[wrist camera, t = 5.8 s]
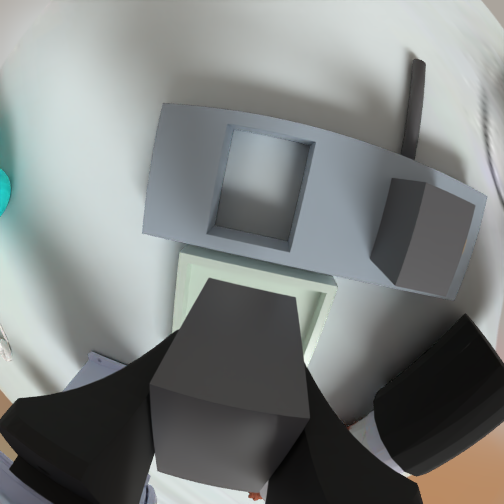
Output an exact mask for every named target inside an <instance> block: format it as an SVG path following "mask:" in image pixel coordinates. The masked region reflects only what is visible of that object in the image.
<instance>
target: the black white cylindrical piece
mask: <svg viewBox="0 0 504 504" xmlns="http://www.w3.org/2000/svg"><path fill="white" fill-rule="evenodd" d="M373 402H374V410H373V411H372V412H370V413H369V414H368V416H367V417H365V418H363V419H362V420H360V421H359V422H355V423H354V424H352V425H351V426H348V427H346V428H347V429H348V430H349V431H350V432H351V433H352V435H353V436H354V437H355V438H356V439H357V440H358V441H359V442H360V443H361V444H362V445H363V446H365V447H366V448H367V449H368V450H369V451H370V452H371V453H372V454H373V455H375V456H376V457H377V458H378V459H380V460H381V461H382V462H383V463H385V464H386V465H388V466H389V467H390V468H392V469H393V470H395V471H396V472H398V473H402V472H407V473H409V474H412V475H414V476H420V475H423V474H426V473H428V472H430V471H432V470H434V469H436V468H437V467H439V466H441V465H443V464H444V463H446V462H448V461H449V460H451V459H453V458H454V457H456V456H457V455H459V454H460V453H462V452H463V451H465V450H466V449H468V448H469V447H471V446H472V445H474V444H475V443H476V442H478V441H479V440H481V439H482V438H483V437H485V436H486V435H487V434H489V433H490V432H491V431H492V430H494V429H495V428H496V427H497V426H499V425H500V424H501V423H502V422H503V421H504V363H503V362H502V360H501V359H500V357H499V356H498V354H497V353H496V351H495V350H494V348H493V347H492V346H491V344H490V343H489V342H488V340H487V339H486V337H485V336H484V335H483V334H482V332H481V331H480V330H479V328H478V327H477V326H476V325H475V323H474V322H473V321H472V320H471V319H470V318H469V316H468V315H467V314H466V313H465V314H464V315H463V316H462V317H461V318H460V319H459V320H458V322H457V323H456V324H455V325H454V326H453V327H452V328H451V329H450V330H449V331H448V332H447V333H446V334H445V335H444V336H443V337H442V338H441V339H440V340H439V341H438V342H437V343H436V344H434V345H433V346H432V347H431V348H430V349H429V350H428V351H427V352H426V353H425V354H424V355H422V356H421V357H420V358H419V359H418V360H417V361H416V362H414V363H413V364H412V365H411V366H410V367H409V368H407V369H406V370H405V371H404V372H403V373H401V374H400V375H399V376H398V377H396V378H395V379H394V380H392V381H391V382H390V383H389V384H387V385H386V386H385V387H383V388H382V389H381V390H380V391H379V392H378V393H376V396H375V399H374V401H373ZM267 488H268V481H267V482H266V484H265V485H264V486H263V487H262V489H261V490H260V491H259V493H253V492H248V493H249V496H248V497H249V498H253V500H254V501H256V500H258V499H263V500H264V501H265V502H266V495H267Z"/></svg>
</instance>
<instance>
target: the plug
mask: <svg viewBox="0 0 504 504" xmlns="http://www.w3.org/2000/svg"><path fill="white" fill-rule="evenodd" d="M150 404H151V418H152V429H153V439H154V448H155V457H156V464H157V471H159V472H162V473H165V474H168V475H172V476H175V477H179V478H182V479H186V480H190V481H194V482H198V483H202V484H206V485H211V486H216V487H221V488H227V489H232V490H239V491H246V492H253V493H259V491H260V490H261V489H262V487H263V486H264V485H265V484H266V482H267V481H268V480H269V478H270V477H271V476H272V474H273V473H274V472H275V470H276V469H277V468H278V466H279V465H280V463H281V462H282V461H283V459H284V458H285V456H286V455H287V453H288V452H289V451H290V449H291V448H292V446H293V445H294V443H295V442H296V440H297V439H298V437H299V435H300V434H301V432H302V431H303V429H304V428H305V426H306V424H307V423H308V421H309V419H310V412H309V402H308V392H307V383H306V374H305V365H304V356H303V348H302V340H301V332H300V324H299V317H298V310H297V302H296V297H292V296H288V295H283V294H278V293H274V292H269V291H265V290H260V289H256V288H251V287H247V286H243V285H238V284H234V283H230V282H225V281H221V280H217V279H213V278H208V280H207V282H206V283H205V285H204V287H203V289H202V290H201V292H200V294H199V296H198V297H197V299H196V301H195V303H194V304H193V306H192V308H191V310H190V311H189V313H188V315H187V317H186V318H185V320H184V322H183V324H182V326H181V327H180V329H179V331H178V333H177V334H176V336H175V338H174V340H173V342H172V343H171V345H170V347H169V349H168V351H167V352H166V354H165V356H164V358H163V360H162V362H161V363H160V365H159V367H158V369H157V371H156V373H155V374H154V376H153V378H152V380H151V382H150Z"/></svg>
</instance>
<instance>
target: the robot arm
mask: <svg viewBox="0 0 504 504" xmlns="http://www.w3.org/2000/svg"><path fill="white" fill-rule="evenodd" d="M178 331H179V330H176V331H174V332H173V333H172V334H171V335H170V336H168V337H167V338H166V339H165V340H163V341H162V342H161V343H159V344H158V345H157V346H156V347H154V348H153V349H151V350H150V351H149V352H147V353H146V354H144V355H143V356H141V357H140V358H138V359H137V360H135V361H134V362H132V363H130V364H129V365H124V364H121V363H119V362H116V361H114V360H111V359H109V358H106V357H104V356H101V355H99V354H97V353H94V352H89V354H88V358H89V360H88V361H87V363H86V364H85V365H84V366H83V367H82V369H81V370H80V371H79V372H78V373H77V375H76V376H75V377H74V378H73V379H72V381H71V382H70V383H69V384H68V386H67V387H66V388H65V389H64V390H63V392H60V393H55V394H51V395H45V396H37V397H28V398H18V399H17V400H16V401H15V402H14V403H13V404H12V406H11V407H10V408H9V409H8V410H7V412H6V413H5V414H4V415H3V416H2V418H1V419H0V433H1V434H2V436H3V437H4V438H5V440H6V441H7V442H8V443H9V445H10V446H11V447H12V448H13V450H14V451H15V452H16V453H17V454H18V456H17V458H16V459H15V461H14V462H13V461H11V459H9V458H8V457H7V456H6V455H5V454H4V453H2V452H1V451H0V504H157V497H156V494H155V491H154V488H153V487H152V486H151V485H149V484H148V482H149V479H150V475H149V474H148V472H149V469H150V465H151V462H152V459H153V456H154V453H155V448H154V439H153V429H152V418H151V404H150V382H151V380H152V378H153V376H154V374H155V373H156V371H157V369H158V367H159V365H160V363H161V362H162V360H163V358H164V356H165V354H166V352H167V351H168V349H169V347H170V345H171V343H172V342H173V340H174V338H175V336H176V334H177V333H178ZM304 365H305V374H306V383H307V392H308V402H309V412H310V419H309V421H308V423H307V424H306V426H305V428H304V429H303V431H302V432H301V434H300V435H299V437H298V439H297V440H296V442H295V443H294V445H293V446H292V448H291V449H290V451H289V452H288V453H287V455H286V456H285V458H284V459H283V461H282V462H281V463H280V465H279V466H278V468H277V469H276V470H275V472H274V473H273V474H272V476H271V477H270V478H269V480H268V488H267V495H266V502H265V504H423V502H422V498H421V494H420V491H419V487H418V485H417V483H415V482H413V481H411V480H410V479H408V478H406V477H405V476H403V475H401V474H400V473H398V472H396V471H395V470H393V469H392V468H390V467H389V466H388V465H386V464H385V463H383V462H382V461H381V460H380V459H378V458H377V457H376V456H375V455H373V454H372V453H371V452H370V451H369V450H368V449H367V448H366V447H365V446H363V445H362V444H361V443H360V442H359V441H358V440H357V439H356V438H355V437H354V436H353V435H352V433H351V432H350V431H349V430H348V429H347V428H346V427H345V425H344V424H343V423H342V422H341V421H340V419H339V418H338V417H337V415H336V414H335V413H334V411H333V410H332V408H331V407H330V405H329V404H328V402H327V401H326V399H325V398H324V396H323V394H322V393H321V391H320V390H319V388H318V386H317V384H316V383H315V381H314V379H313V377H312V376H311V374H310V372H309V370H308V368H307V366H306V364H305V362H304Z"/></svg>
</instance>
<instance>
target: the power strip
mask: <svg viewBox="0 0 504 504" xmlns="http://www.w3.org/2000/svg"><path fill="white" fill-rule="evenodd" d="M425 69H426V64H425V62H424V61H422V60H419V59H414V60H413V65H412V78H411V89H410V98H409V107H408V114H407V121H406V128H405V134H404V140H403V146H402V151H401V155H400V154H397V153H395V152H392V151H389V150H387V149H384V148H381V147H378V146H376V145H373V144H370V143H367V142H364V141H361V140H358V139H355V138H352V137H348V136H345V135H342V134H338V133H335V132H331V131H328V130H324V129H321V128H317V127H313V126H309V125H305V124H301V123H297V122H292V121H288V120H283V119H279V118H274V117H269V116H264V115H258V114H253V113H247V112H241V111H234V110H228V109H220V108H212V107H204V106H194V105H183V104H169V103H163V105H162V109H161V114H160V118H159V123H158V128H157V133H156V138H155V143H154V148H153V154H152V160H151V166H150V172H149V179H148V186H147V193H146V201H145V210H144V219H143V230H142V234H147V235H151V236H155V237H160V238H164V239H169V240H173V241H178V242H182V243H187V244H191V245H196V246H200V247H205V248H209V249H214V250H218V251H223V252H227V253H232V254H236V255H241V256H245V257H250V258H254V259H259V260H263V261H268V262H273V263H277V264H282V265H286V266H291V267H296V268H300V269H305V270H309V271H314V272H319V273H323V274H328V275H333V276H337V277H342V278H347V279H351V280H356V281H361V282H366V283H370V284H375V285H380V286H384V287H389V288H394V289H399V290H403V291H408V292H413V293H418V294H423V295H427V296H432V297H437V298H442V299H447V300H452V301H454V300H455V298H456V295H457V293H458V291H459V288H460V286H461V283H462V281H463V278H464V275H465V273H466V270H467V267H468V264H469V261H470V259H471V256H472V252H473V249H474V246H475V243H476V240H477V236H478V233H479V229H480V225H481V222H482V218H483V214H484V209H485V205H486V200H487V196H486V195H484V194H483V193H481V192H479V191H477V190H475V189H474V188H472V187H470V186H468V185H466V184H464V183H462V182H460V181H458V180H456V179H454V178H452V177H450V176H448V175H446V174H444V173H442V172H440V171H438V170H435V169H433V168H431V167H429V166H426V165H424V164H422V163H419V162H417V161H415V154H416V149H417V143H418V137H419V130H420V123H421V115H422V107H423V97H424V85H425ZM233 130H240V131H245V132H251V133H256V134H261V135H266V136H271V137H276V138H281V139H285V140H290V141H294V142H298V143H302V144H306V145H310V148H309V153H308V158H307V162H306V167H305V171H304V176H303V180H302V184H301V189H300V193H299V197H298V202H297V206H296V210H295V214H294V219H293V223H292V227H291V231H290V235H289V239H288V241H284V240H280V239H275V238H271V237H266V236H262V235H257V234H253V233H248V232H243V231H239V230H234V229H229V228H225V227H220V226H215V223H216V217H217V211H218V206H219V200H220V195H221V190H222V184H223V179H224V174H225V169H226V164H227V159H228V154H229V149H230V145H231V140H232V135H233Z"/></svg>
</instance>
